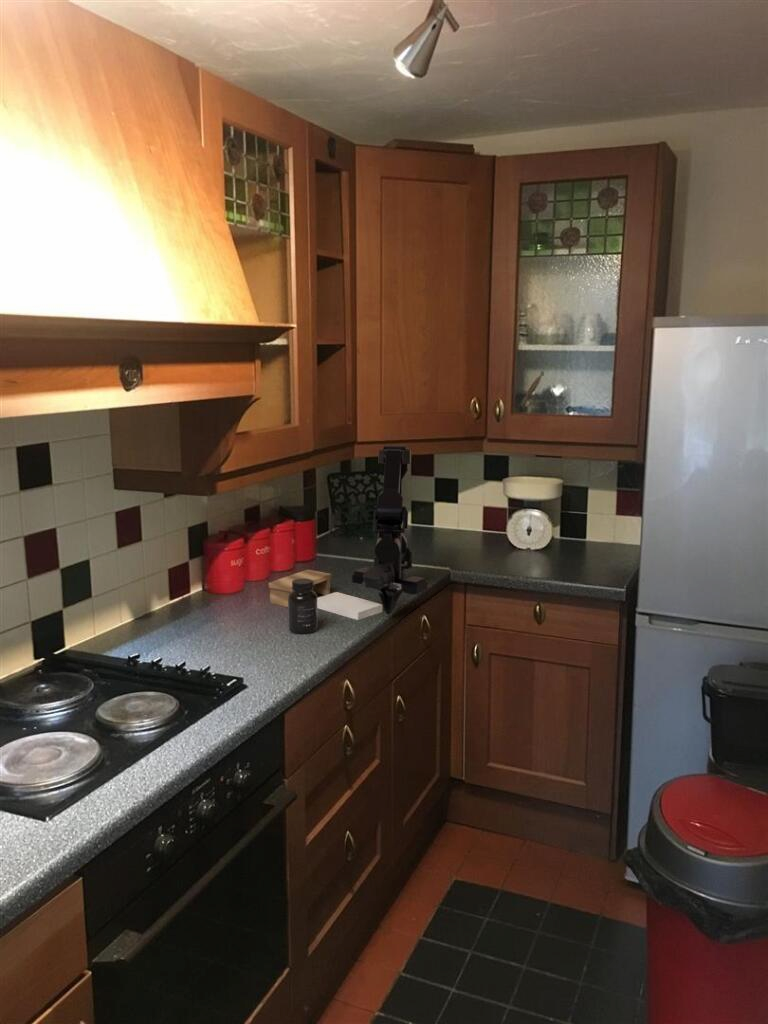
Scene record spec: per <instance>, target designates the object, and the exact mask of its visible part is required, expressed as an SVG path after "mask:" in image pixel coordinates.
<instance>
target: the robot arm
mask: <svg viewBox="0 0 768 1024" xmlns="http://www.w3.org/2000/svg"><path fill="white" fill-rule="evenodd" d="M377 454H378V456H377V457H378V462H377V463H378V464H381V472H382V473H383V486H382V492H381V493H380V494H379V495H378V496H377V499H376V500H377V501H376V505H374V506H373V514H372V515H373V518H372V533H377V541H376V544H375V548H374V554H375V557H374V559H373V564H372V566H370V567H366V566H365V567H361V568H358V569H355V570H354V571H353V573H352V574H351V582H352V583H354V584H358V585H362V584H364V587H365V588H367V589H369V588H370V589H371V590H373V591H375V593H377V594H378V596H379V598H380V600H381V603H382V607H383V609H384V611H385V614H386V615H391V614H392V613H393V611H394V608H395V606H396V605H397V602H398V600H399V598H400V596H401V594H402V593H404V594H409V595H418V594H420V593H422V592H424V591H426V590H428V580H427V579H426V578H425V577H421V576H416V575H415V576H414V575H412V576H410V577H407V578H406V570H410V569H411V568H413V552H412V551H411V549H410V546H408V539H407V537H406V535H405V533H406V529H409V528H408V527H409V525H408V524H409V522H408V521H409V510H408V509H407V507H406V506H405V505H404V497H403V478H404V477H405V475H406V474H407V472H408V471H409V469H408V468H409V464H412V463H411V462H412V460H411V459H412V450H411V449H407V445H388V444H387V445H383V448H382V449H378V453H377Z"/></svg>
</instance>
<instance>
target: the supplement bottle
mask: <svg viewBox="0 0 768 1024" xmlns="http://www.w3.org/2000/svg"><path fill="white" fill-rule="evenodd" d="M312 589H313V581H312V580H310V579H305V578H301V579H295V580H293V581H292V590H293V591H292V592H290V594H289V595H288V607H287V609H288V611H287V615H288V616H287V617H288V630H289V632H291V633H292V634H294V635H295V634H296V635H310V634H313V633H315V632H317V630H318V625H319V621H318V619H319V618H318V617H319V616H318V608H317V598H318V593H315V592H314V591H313V590H312Z"/></svg>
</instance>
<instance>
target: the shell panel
mask: <svg viewBox="0 0 768 1024" xmlns="http://www.w3.org/2000/svg"><path fill="white" fill-rule="evenodd" d="M317 609H320V610H322V611H325V612H330V613H333V614H336V615H340V616H343V617H347V618H350V619H353V620H356V621H359V620H362V619H365V618H368V617H371V616H374V615H378V614H380V613H382V612H383V603H382V604H381V603H378V602H375V601H372V600H367V599H363V598H360V597H357V596H352V595H350V594H349V595H348V594H345V593H342V592H338V591H336V592H335V591H334V592H332V593H330V594H328V595H323V596H319V597H318V596H317Z"/></svg>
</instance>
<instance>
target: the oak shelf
mask: <svg viewBox="0 0 768 1024" xmlns="http://www.w3.org/2000/svg"><path fill="white" fill-rule="evenodd" d="M301 578H305V579H310V580H312V581H313V589H312V590H313V591H314V592H315V593H316V594H317V595H318V594H319V595H323V596H325V595H328V594H331V579H332V573H328V572H327V573H326V572H323V571H318V570H317V571H316V570H312V569H305V570H302V571H299V572H296V573H292V574H290V575H287V576H283V577H281V578H279V579H276V580H273V581H270V582H268V588H269V596H270V598H269V600H270V601H269V603H270V604H272V605H276V606H281V607H285V608H288V595H289V594H290V592H292V591H293V590H292V581H293V580H295V579H301Z"/></svg>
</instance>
